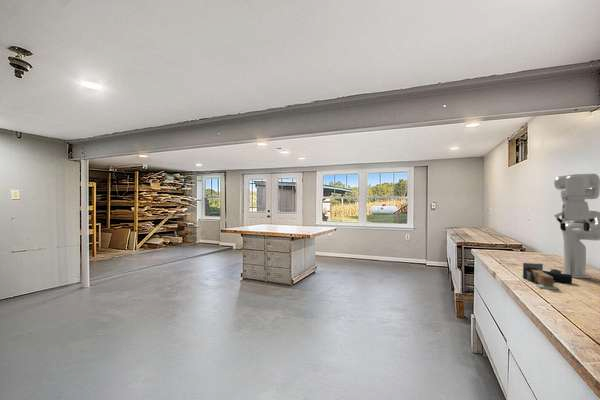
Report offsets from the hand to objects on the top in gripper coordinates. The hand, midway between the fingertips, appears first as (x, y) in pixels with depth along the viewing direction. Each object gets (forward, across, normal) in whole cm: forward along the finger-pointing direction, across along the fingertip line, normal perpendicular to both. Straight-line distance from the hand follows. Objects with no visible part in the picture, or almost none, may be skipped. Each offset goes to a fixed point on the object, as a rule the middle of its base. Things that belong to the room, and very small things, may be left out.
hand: (574, 230), depth 152 cm
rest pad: (+29, -16, -11) cm, 35 cm away
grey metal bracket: (+29, -16, +3) cm, 34 cm away
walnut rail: (+28, -16, -4) cm, 33 cm away
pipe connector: (+30, -5, +9) cm, 32 cm away
